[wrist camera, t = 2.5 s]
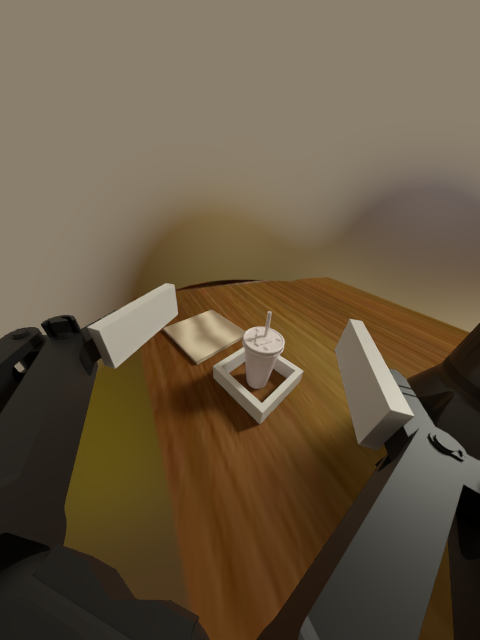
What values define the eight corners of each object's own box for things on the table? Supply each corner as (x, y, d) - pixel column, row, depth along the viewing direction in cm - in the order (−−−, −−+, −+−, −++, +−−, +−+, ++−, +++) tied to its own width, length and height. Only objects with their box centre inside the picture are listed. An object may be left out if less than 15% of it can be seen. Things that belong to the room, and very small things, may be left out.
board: (211, 312, 51) (211, 309, 51) (247, 335, 43) (247, 333, 43) (163, 330, 43) (163, 328, 42) (196, 364, 35) (196, 361, 34)
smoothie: (280, 378, 33) (298, 313, 26) (262, 403, 29) (278, 334, 21) (251, 361, 36) (260, 298, 29) (231, 382, 32) (235, 314, 24)
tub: (254, 350, 39) (255, 339, 37) (299, 382, 33) (303, 371, 31) (213, 377, 32) (212, 366, 31) (259, 424, 26) (262, 413, 24)
